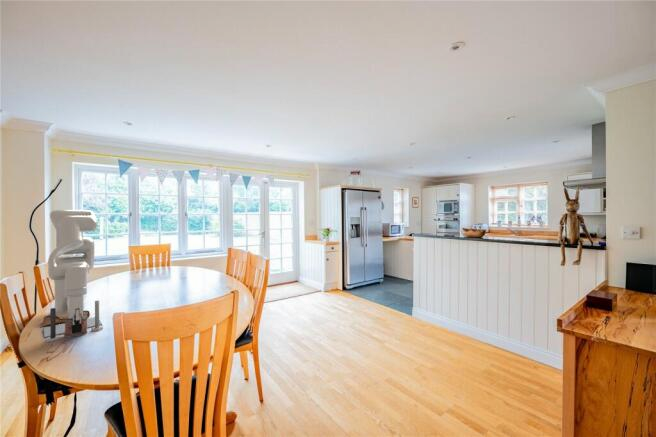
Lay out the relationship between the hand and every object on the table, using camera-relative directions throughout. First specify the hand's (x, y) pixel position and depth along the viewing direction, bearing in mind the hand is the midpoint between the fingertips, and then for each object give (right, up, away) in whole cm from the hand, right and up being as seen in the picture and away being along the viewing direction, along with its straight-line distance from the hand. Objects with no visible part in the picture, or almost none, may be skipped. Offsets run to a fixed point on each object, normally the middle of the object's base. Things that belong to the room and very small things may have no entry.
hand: (76, 330), depth 125 cm
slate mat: (-9, -2, +8) cm, 12 cm away
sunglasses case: (-19, -2, +15) cm, 25 cm away
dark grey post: (-5, -2, -6) cm, 8 cm away
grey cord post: (+5, -2, +6) cm, 8 cm away
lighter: (0, -2, 0) cm, 2 cm away
